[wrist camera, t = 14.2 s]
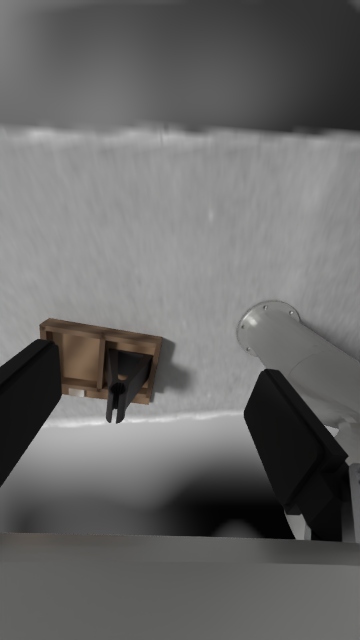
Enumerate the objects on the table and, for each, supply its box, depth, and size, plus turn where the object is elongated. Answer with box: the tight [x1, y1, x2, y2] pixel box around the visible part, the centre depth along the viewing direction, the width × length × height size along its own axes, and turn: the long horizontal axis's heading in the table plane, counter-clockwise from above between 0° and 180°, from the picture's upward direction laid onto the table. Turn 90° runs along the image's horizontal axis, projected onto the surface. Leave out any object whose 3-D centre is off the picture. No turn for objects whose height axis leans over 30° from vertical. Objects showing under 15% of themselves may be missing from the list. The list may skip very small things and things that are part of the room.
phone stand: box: [106, 348, 153, 424], centre depth 35 cm, size 9×6×12 cm, turn 77°
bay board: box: [40, 318, 162, 405], centre depth 40 cm, size 22×18×3 cm
